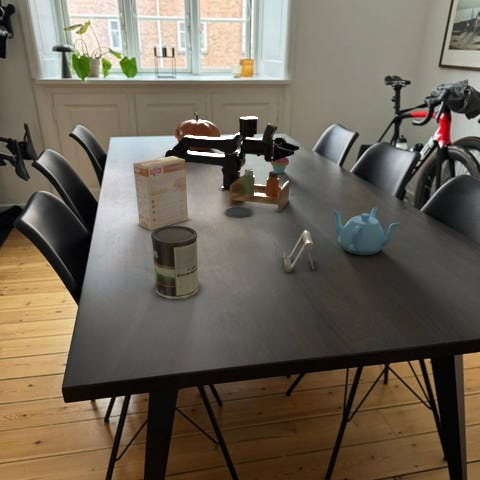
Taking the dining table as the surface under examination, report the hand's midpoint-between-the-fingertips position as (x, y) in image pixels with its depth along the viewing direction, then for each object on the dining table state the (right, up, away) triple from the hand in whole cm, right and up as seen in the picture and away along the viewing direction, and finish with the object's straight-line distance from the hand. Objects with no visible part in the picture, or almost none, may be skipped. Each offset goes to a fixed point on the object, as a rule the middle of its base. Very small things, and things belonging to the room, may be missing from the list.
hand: (296, 150), depth 170 cm
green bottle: (-18, -16, -3) cm, 24 cm away
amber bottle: (-10, -18, -5) cm, 21 cm away
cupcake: (-3, +4, +39) cm, 39 cm away
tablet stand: (-5, -48, -48) cm, 68 cm away
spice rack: (-14, -20, -2) cm, 25 cm away
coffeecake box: (-46, -31, -21) cm, 59 cm away
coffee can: (-36, -55, -60) cm, 89 cm away
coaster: (-22, -26, -12) cm, 35 cm away
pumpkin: (-44, +29, +79) cm, 95 cm away
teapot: (+15, -41, -36) cm, 56 cm away
